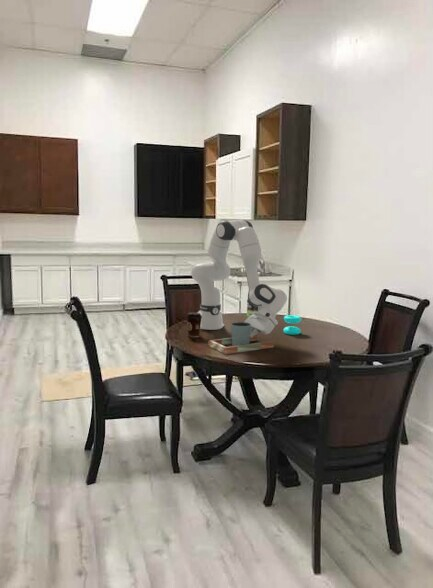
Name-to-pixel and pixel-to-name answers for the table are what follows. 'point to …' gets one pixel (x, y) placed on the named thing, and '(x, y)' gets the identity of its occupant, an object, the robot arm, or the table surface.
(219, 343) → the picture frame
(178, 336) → the table surface
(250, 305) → the coffee can
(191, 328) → the coffee cup
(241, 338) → the grey-blue cylinder
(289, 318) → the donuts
